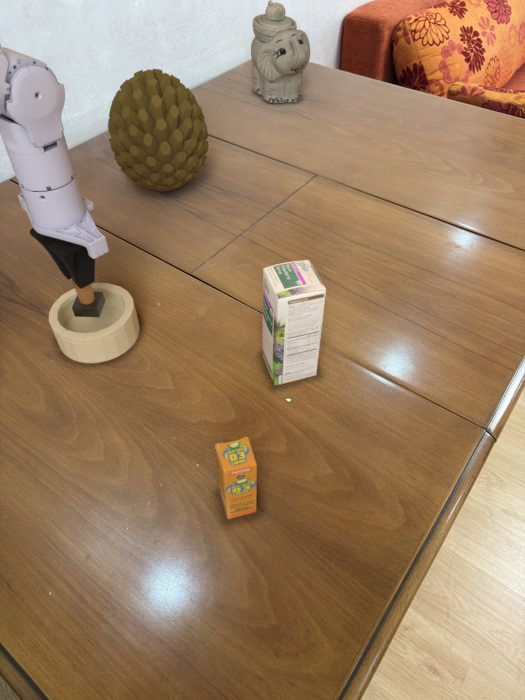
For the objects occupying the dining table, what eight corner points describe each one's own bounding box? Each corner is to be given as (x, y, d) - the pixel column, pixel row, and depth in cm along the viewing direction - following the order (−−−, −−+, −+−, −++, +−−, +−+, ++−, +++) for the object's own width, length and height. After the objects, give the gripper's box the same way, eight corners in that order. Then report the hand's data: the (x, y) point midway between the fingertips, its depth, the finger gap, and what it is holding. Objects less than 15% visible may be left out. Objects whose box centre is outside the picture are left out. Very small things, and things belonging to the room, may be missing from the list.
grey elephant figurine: (302, 115, 120) (306, 20, 106) (238, 108, 123) (234, 14, 109) (317, 87, 131) (323, -3, 117) (258, 81, 134) (257, -7, 120)
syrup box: (261, 354, 70) (259, 266, 59) (303, 344, 71) (309, 256, 61) (274, 387, 66) (275, 299, 56) (319, 376, 67) (328, 287, 57)
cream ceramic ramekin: (41, 349, 71) (30, 325, 68) (89, 299, 78) (82, 275, 74) (110, 373, 68) (102, 348, 65) (154, 318, 75) (149, 294, 72)
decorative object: (215, 163, 105) (207, 53, 90) (207, 211, 93) (195, 92, 79) (130, 163, 105) (108, 52, 91) (111, 210, 94) (82, 92, 79)
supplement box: (227, 523, 54) (220, 472, 47) (219, 493, 56) (212, 440, 49) (258, 514, 55) (257, 463, 47) (250, 485, 57) (247, 432, 50)
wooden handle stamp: (74, 316, 68) (54, 260, 62) (81, 300, 71) (62, 243, 64) (99, 317, 68) (81, 260, 62) (105, 300, 70) (89, 244, 64)
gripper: (120, 187, 54) (143, 289, 64) (43, 143, 61) (74, 241, 71) (60, 215, 51) (94, 319, 61) (-15, 165, 58) (26, 266, 68)
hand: (80, 279), depth 66 cm, fingers closed on wooden handle stamp, 2 cm apart
